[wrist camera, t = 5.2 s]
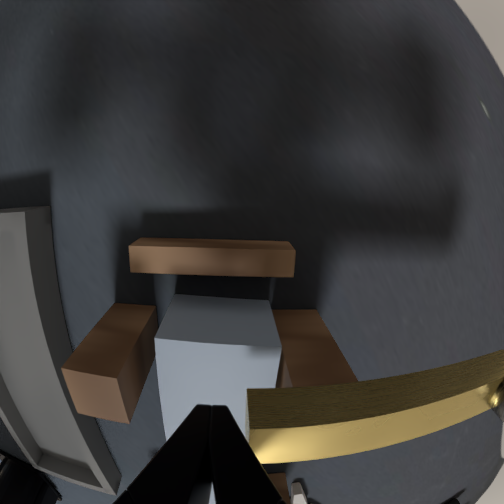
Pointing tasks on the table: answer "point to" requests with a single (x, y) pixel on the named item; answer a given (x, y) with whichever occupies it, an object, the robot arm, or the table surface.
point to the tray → (42, 359)
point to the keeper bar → (369, 410)
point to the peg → (214, 355)
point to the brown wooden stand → (146, 326)
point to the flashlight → (454, 501)
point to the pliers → (297, 494)
